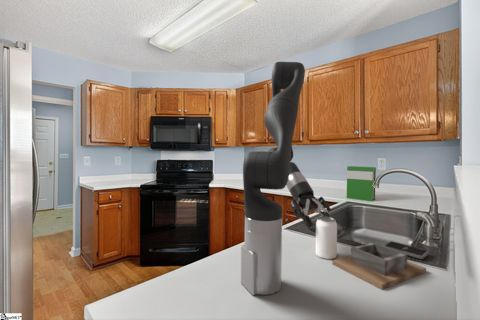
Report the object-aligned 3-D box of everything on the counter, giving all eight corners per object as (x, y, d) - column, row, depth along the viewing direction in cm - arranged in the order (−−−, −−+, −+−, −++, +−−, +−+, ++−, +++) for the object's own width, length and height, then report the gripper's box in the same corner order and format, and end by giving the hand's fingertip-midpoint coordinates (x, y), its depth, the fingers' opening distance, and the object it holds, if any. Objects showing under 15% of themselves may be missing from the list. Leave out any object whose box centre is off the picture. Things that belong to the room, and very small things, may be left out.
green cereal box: (375, 200, 178) (375, 167, 177) (372, 201, 172) (372, 167, 172) (349, 196, 190) (350, 166, 189) (346, 198, 184) (347, 166, 184)
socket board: (381, 289, 59) (382, 269, 59) (332, 264, 72) (333, 247, 72) (426, 272, 68) (426, 254, 68) (375, 252, 82) (375, 237, 81)
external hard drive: (421, 262, 75) (421, 256, 75) (382, 251, 84) (383, 245, 84) (428, 256, 79) (428, 250, 79) (390, 246, 88) (390, 241, 88)
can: (319, 250, 83) (320, 215, 83) (339, 255, 79) (340, 218, 79) (312, 256, 78) (312, 219, 78) (332, 261, 74) (333, 222, 74)
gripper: (288, 181, 85) (311, 222, 75) (318, 179, 91) (343, 217, 81) (278, 194, 89) (299, 234, 79) (308, 191, 96) (330, 228, 86)
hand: (321, 225), depth 80 cm, fingers open, 8 cm apart
